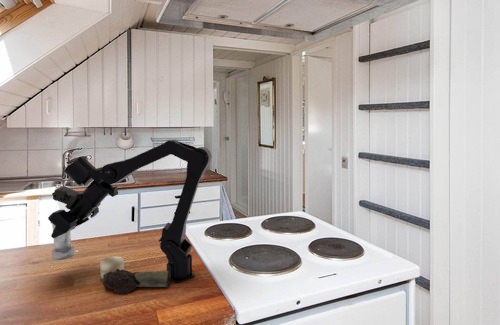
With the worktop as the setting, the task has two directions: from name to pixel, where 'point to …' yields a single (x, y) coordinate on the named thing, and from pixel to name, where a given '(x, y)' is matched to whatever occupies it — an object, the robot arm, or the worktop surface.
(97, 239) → the worktop surface
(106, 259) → the fitting stand
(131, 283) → the brown and green club
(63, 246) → the metal knob
